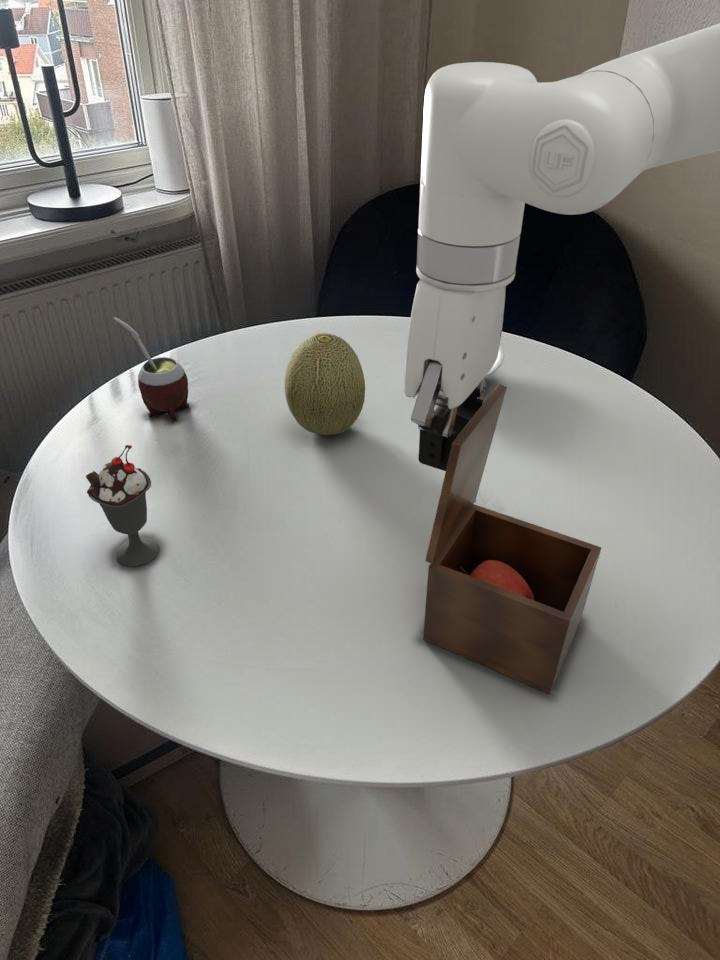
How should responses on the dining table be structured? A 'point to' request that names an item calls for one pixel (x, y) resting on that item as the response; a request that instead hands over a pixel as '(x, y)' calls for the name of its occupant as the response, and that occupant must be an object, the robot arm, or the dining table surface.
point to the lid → (464, 468)
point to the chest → (509, 596)
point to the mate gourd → (161, 383)
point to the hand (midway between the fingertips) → (449, 447)
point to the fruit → (324, 384)
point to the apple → (501, 577)
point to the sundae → (125, 507)
